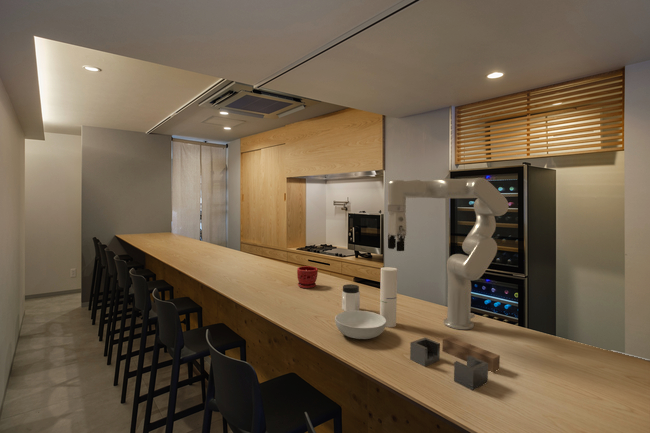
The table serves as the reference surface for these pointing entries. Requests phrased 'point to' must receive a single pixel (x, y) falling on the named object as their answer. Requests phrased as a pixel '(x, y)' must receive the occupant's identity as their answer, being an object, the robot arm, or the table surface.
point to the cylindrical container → (388, 295)
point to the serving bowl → (360, 324)
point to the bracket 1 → (424, 351)
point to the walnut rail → (470, 352)
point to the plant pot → (307, 276)
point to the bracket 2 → (471, 373)
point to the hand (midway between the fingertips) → (396, 249)
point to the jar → (350, 298)
